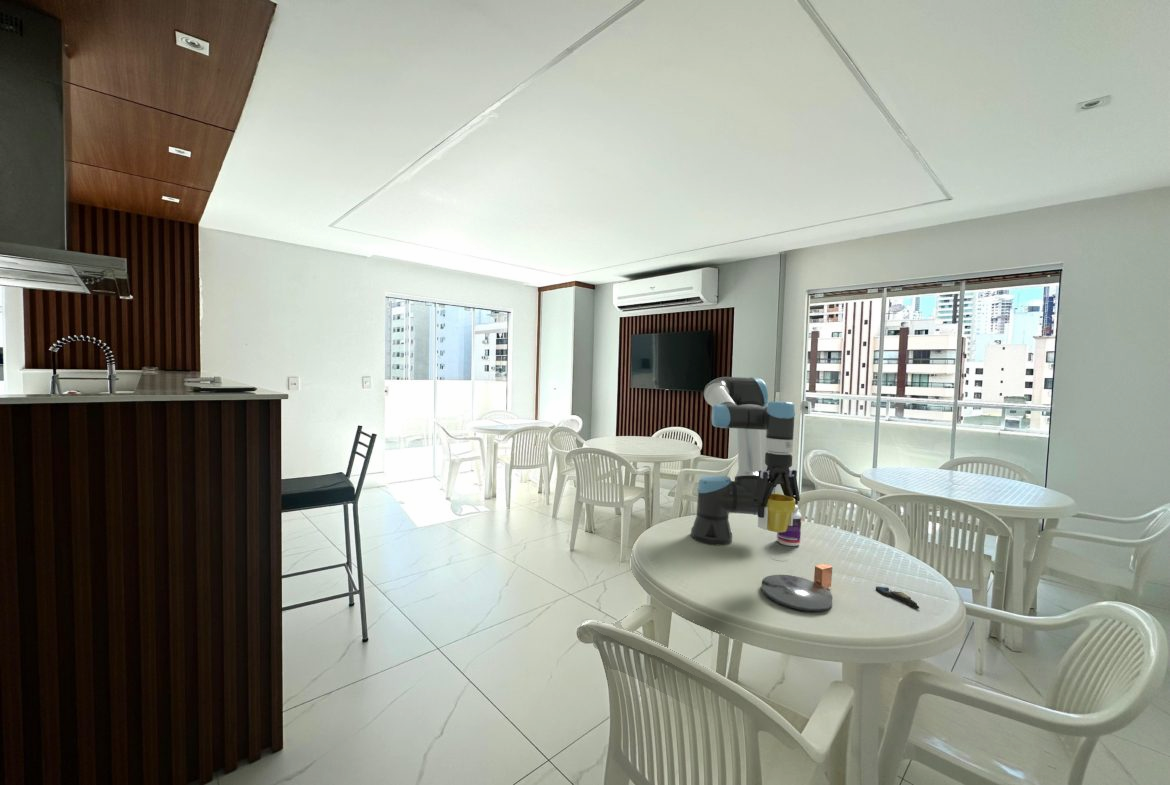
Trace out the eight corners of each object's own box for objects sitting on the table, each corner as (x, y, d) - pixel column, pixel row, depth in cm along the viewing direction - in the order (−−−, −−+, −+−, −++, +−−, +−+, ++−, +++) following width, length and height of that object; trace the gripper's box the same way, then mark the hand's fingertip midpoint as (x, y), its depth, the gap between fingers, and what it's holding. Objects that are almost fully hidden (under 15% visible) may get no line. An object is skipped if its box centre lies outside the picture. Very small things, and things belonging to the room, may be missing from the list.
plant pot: (797, 536, 128) (799, 502, 128) (759, 532, 131) (761, 498, 131) (789, 526, 138) (791, 494, 138) (754, 522, 141) (755, 491, 141)
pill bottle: (804, 547, 163) (806, 508, 163) (781, 546, 164) (784, 508, 163) (793, 539, 172) (796, 502, 171) (772, 538, 172) (775, 501, 171)
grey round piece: (747, 586, 130) (748, 565, 130) (800, 572, 141) (801, 553, 140) (803, 617, 114) (804, 594, 114) (857, 599, 125) (859, 578, 124)
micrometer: (873, 584, 133) (889, 584, 133) (873, 590, 133) (889, 590, 133) (905, 604, 121) (923, 604, 121) (905, 610, 121) (922, 611, 121)
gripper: (761, 455, 126) (757, 534, 126) (815, 453, 136) (811, 526, 136) (741, 451, 133) (737, 526, 133) (794, 450, 143) (790, 519, 143)
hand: (775, 526), depth 134 cm, fingers closed on plant pot, 10 cm apart
